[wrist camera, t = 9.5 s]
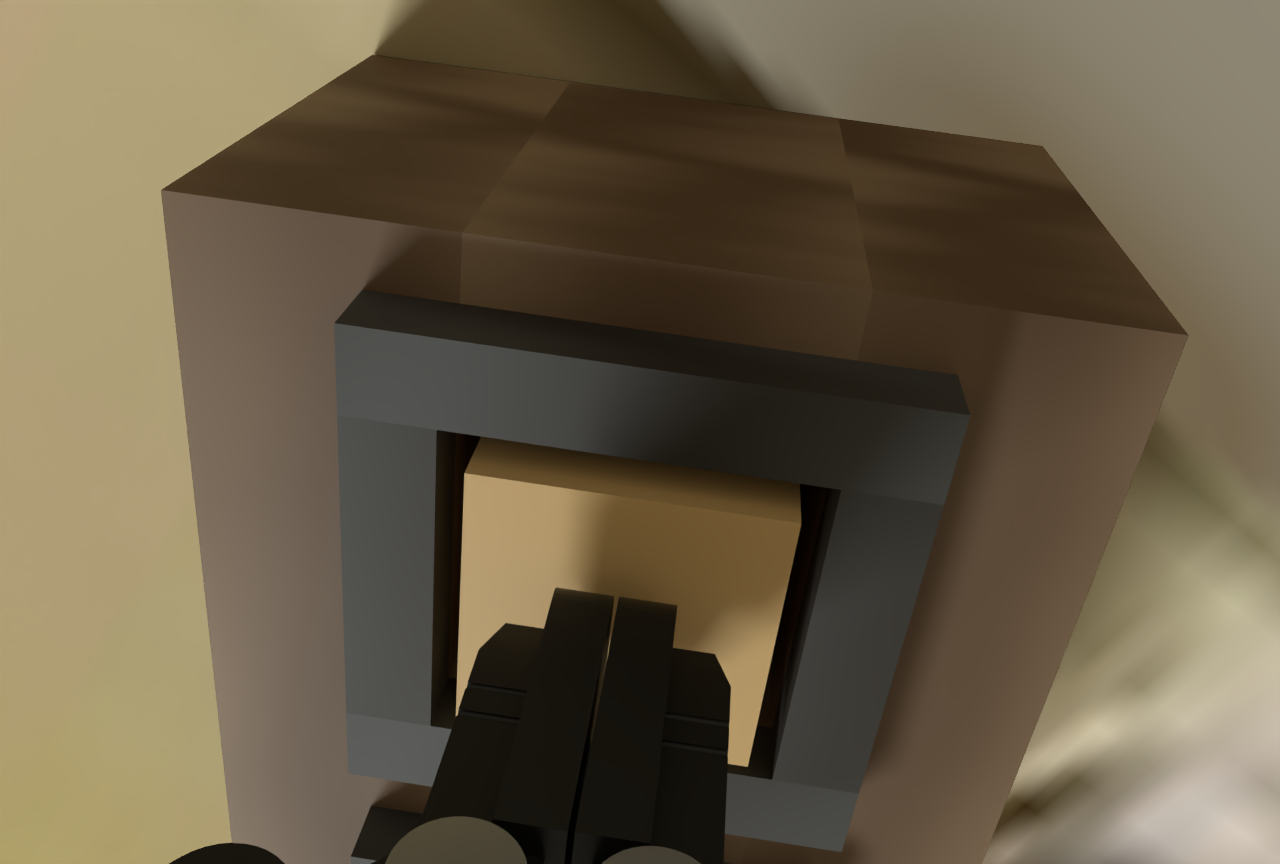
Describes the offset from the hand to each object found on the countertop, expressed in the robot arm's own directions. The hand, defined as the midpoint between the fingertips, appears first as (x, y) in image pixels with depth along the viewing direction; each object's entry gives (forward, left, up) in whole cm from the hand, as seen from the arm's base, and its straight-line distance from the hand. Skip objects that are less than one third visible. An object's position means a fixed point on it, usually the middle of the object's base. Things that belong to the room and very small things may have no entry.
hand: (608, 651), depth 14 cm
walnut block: (0, -5, -10) cm, 11 cm away
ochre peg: (0, 0, -9) cm, 9 cm away
